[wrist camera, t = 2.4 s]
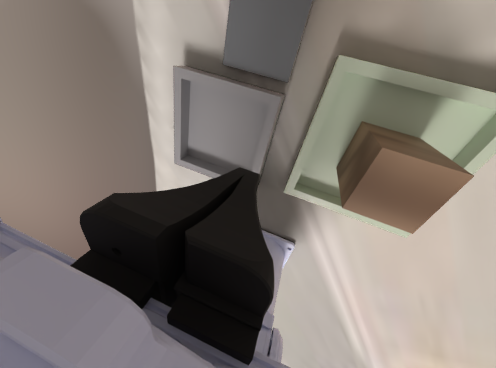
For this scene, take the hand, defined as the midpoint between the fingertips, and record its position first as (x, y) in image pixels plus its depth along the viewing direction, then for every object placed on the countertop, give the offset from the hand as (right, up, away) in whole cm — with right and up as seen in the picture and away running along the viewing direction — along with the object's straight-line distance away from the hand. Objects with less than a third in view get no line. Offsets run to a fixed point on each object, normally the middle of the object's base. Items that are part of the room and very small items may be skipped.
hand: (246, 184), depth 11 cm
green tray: (+11, +3, +5) cm, 13 cm away
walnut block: (+11, +3, +5) cm, 12 cm away
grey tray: (-2, +6, +9) cm, 11 cm away
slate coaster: (+1, +12, +4) cm, 13 cm away
